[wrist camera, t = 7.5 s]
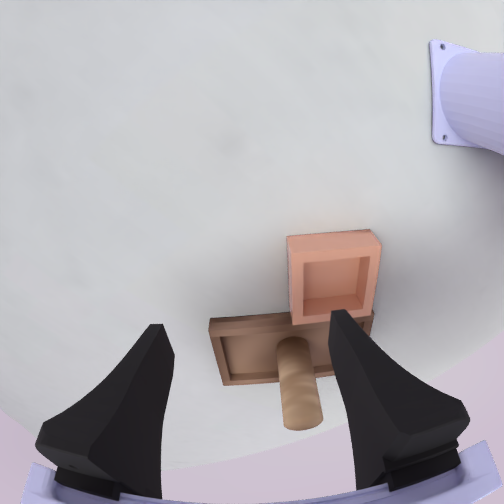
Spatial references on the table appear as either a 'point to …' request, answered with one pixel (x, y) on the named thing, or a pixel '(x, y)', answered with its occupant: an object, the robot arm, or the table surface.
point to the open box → (332, 274)
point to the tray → (267, 345)
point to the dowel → (298, 385)
